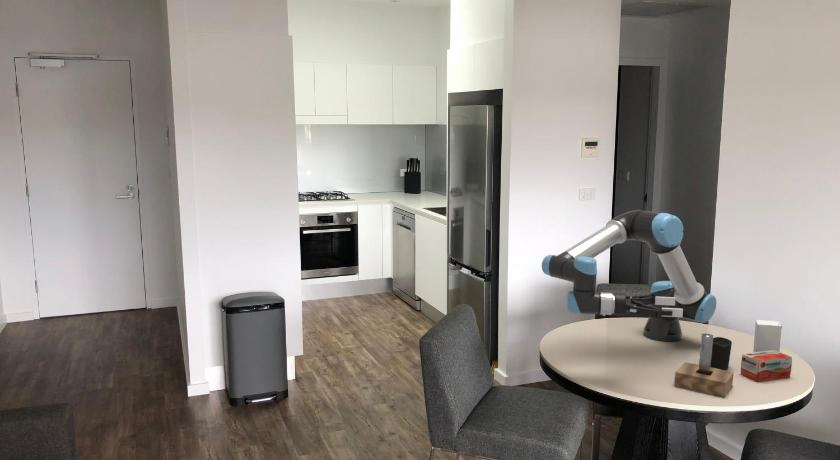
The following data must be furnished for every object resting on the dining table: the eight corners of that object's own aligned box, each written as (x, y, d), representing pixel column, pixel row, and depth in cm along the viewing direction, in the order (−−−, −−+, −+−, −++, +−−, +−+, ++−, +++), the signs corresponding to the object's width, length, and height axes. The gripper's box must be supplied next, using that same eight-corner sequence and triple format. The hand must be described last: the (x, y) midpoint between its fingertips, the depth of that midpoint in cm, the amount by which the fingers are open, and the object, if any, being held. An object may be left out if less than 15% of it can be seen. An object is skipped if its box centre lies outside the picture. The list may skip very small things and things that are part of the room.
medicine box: (772, 370, 249) (774, 349, 247) (790, 378, 241) (793, 356, 240) (739, 374, 244) (741, 353, 242) (757, 383, 236) (759, 361, 235)
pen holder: (727, 373, 245) (729, 346, 243) (699, 367, 250) (701, 341, 248) (731, 365, 253) (733, 339, 251) (704, 360, 257) (706, 334, 256)
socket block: (674, 385, 232) (675, 371, 231) (683, 375, 242) (684, 361, 241) (724, 397, 223) (725, 383, 222) (732, 386, 233) (733, 372, 232)
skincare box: (775, 360, 258) (780, 321, 255) (778, 366, 252) (783, 326, 249) (751, 358, 260) (755, 318, 258) (753, 363, 254) (757, 323, 252)
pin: (696, 386, 232) (700, 335, 229) (698, 383, 235) (703, 332, 232) (707, 388, 230) (711, 337, 227) (709, 385, 233) (714, 334, 230)
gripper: (609, 304, 246) (671, 307, 242) (616, 326, 222) (685, 329, 218) (610, 284, 245) (672, 286, 241) (617, 303, 220) (686, 306, 217)
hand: (678, 307), depth 229 cm, fingers open, 13 cm apart
